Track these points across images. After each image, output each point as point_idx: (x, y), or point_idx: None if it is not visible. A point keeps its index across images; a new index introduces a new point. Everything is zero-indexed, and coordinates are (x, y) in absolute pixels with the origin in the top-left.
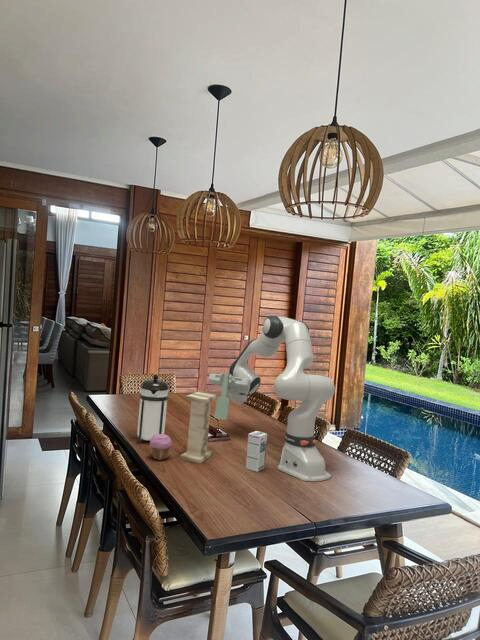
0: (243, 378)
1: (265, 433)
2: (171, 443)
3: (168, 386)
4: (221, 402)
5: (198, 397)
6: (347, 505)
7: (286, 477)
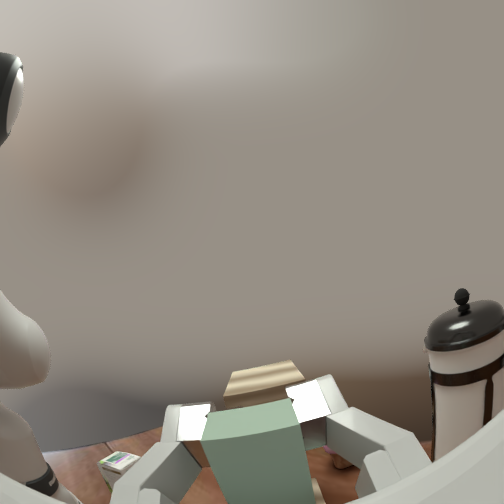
0: (8, 477)
1: (100, 461)
2: (324, 446)
3: (463, 341)
4: None
5: (257, 369)
6: (53, 460)
7: (95, 501)
